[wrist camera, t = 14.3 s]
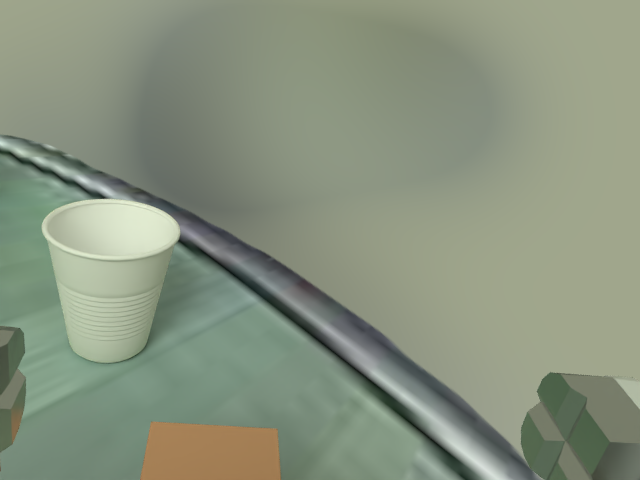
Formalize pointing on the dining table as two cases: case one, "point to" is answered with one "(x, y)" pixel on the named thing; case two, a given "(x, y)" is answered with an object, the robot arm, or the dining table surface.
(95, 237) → the cup
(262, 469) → the clip
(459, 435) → the dining table surface
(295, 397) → the dining table surface
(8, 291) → the dining table surface
